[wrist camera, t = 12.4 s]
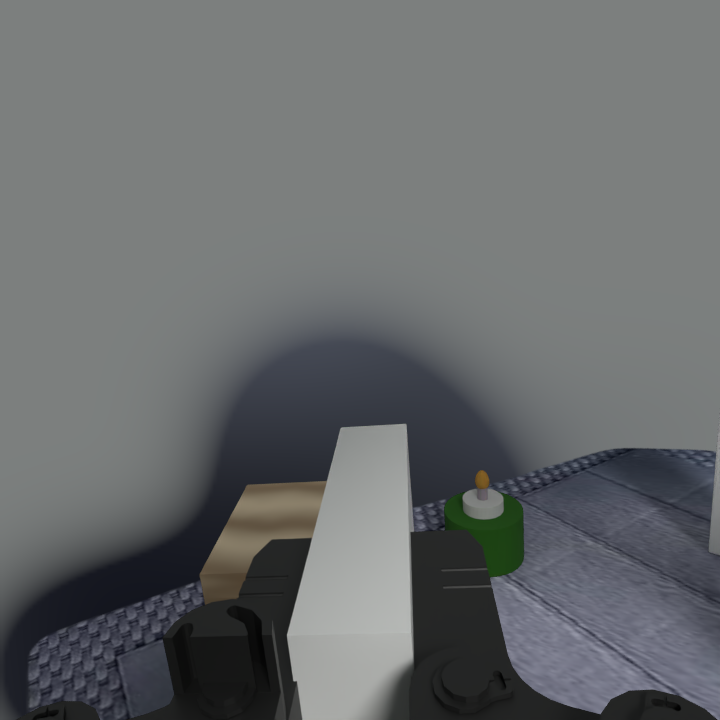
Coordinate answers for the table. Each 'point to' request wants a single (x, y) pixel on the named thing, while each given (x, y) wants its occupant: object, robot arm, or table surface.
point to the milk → (716, 505)
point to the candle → (490, 524)
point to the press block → (259, 532)
